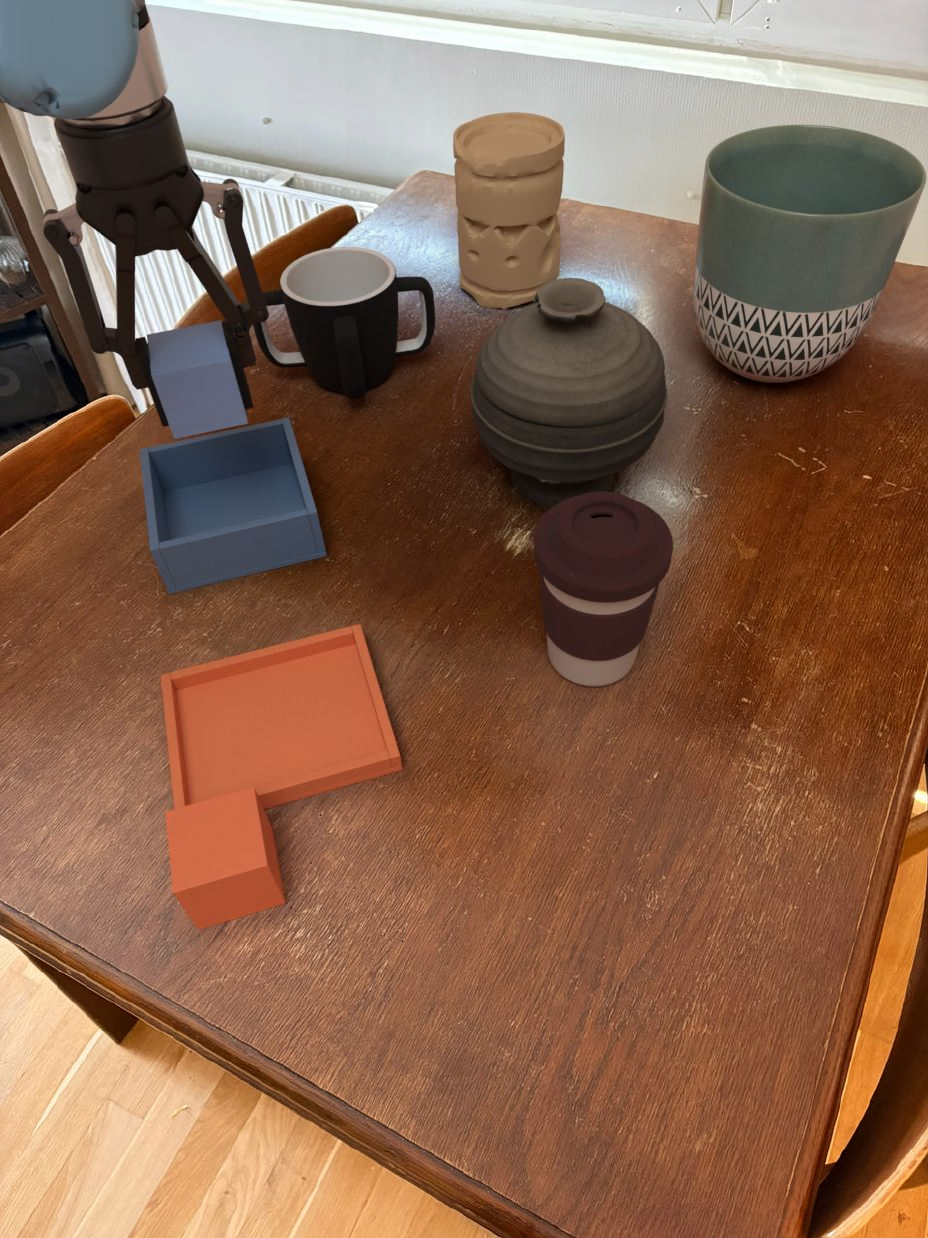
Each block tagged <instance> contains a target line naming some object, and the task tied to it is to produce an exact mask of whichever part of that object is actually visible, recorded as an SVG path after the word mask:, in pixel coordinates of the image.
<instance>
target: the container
mask: <svg viewBox="0 0 928 1238" xmlns="http://www.w3.org/2000/svg"><path fill="white" fill-rule="evenodd" d="M565 138H566V135H565V130H564V127H563V126H562V124H560V123H559V122H558V121H556V120H554V119H553V118H550V117H547V116H544V115H541V114H537V113H530V112H520V111H518V112H516V111H514V112H513V111H512V112H511V111H510V112H498V113H490V114H487V115H482V116H480V117H477V118H475V119H472V120H470V121H466V122H464V123H461V124H460V125H459V126H458V127H456V129H455V130H454V132H453V136H452V149H453V150H452V151H453V152H452V153H453V158H454V159H455V162H454V166H453V168H454V169H453V170H454V182H455V183H454V184H455V205H456V208H457V218H456V229H457V232H456V233H457V251H458V266H459V269H460V271H459V287H460V290H464V291H466V292H467V293H468V294H470V295H471V296H472V297H473V298H474V300H475V301H476V303H477V305H479V306H480V307H481V308H482V307H483V308H488V309H496V310H497V309H501V310H503V311H506V310H507V309H509V308H512V307H517V306H520V305H523V304H525V303H529V302H534V296H535V295H536V292H537V290H538V289H539V288H540V287H541V286H542V285H544V284H546V283H548V282H551V281H553V280H557V279H559V276H560V272H561V271H560V267H561V248H562V247H561V245H562V243H561V242H562V238H561V226H560V222H559V216H558V214H557V213H558V212H559V207H560V203H561V198H562V194H563V184H564V169H565V167H564V166H565V162H564V159H563V158H564V155H565V145H566V144H565V142H566V139H565Z"/></svg>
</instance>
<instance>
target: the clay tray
mask: <svg viewBox="0 0 928 1238" xmlns="http://www.w3.org/2000/svg"><path fill="white" fill-rule="evenodd" d="M160 683H161V693H162V705H163V713H164V722H165V732H166V733H165V734H166V742H167V751H168V760H169V761H168V762H169V772H170V781H171V792H172V800H173V801H172V802H173V809H176V808H180V807H183V806H187V805H190V804H194V803H197V802H201V801H205V800H208V799H212V798H215V797H219V796H222V795H226V794H230V793H233V792H237V791H240V790H244V789H247V788H251V787H255V790H256V792H257V794H258V797H259V799H260V801H261V804H262V806H263V808H264V810H267V809H270V808H274V807H277V806H280V805H285V804H287V803H291V802H295V801H298V800H302V799H305V798H309V797H312V796H316V795H320V794H323V793H327V792H331V791H334V790H337V789H340V788H344V787H348V786H351V785H355V784H358V783H362V782H366V781H368V780H372V779H375V778H379V777H383V776H387V775H389V774H393V773H397V772H400V771H403V770H404V769H403V762H402V758H401V754H400V753H401V752H400V750H399V747H398V746H399V745H398V743H397V739H396V737H395V733H394V730H393V727H392V723H391V720H390V716H389V714H388V710H387V707H386V704H385V700H384V697H383V694H382V691H381V687H380V684H379V680H378V678H377V674H376V671H375V668H374V664H373V660H372V657H371V654H370V650H369V647H368V645H367V641H366V637H365V635H364V631H363V628H362V625H361V623H357V624H354V625H351V626H350V625H349V626H345V627H341V628H337V629H334V630H330V631H326V632H322V633H318V634H315V635H310V636H307V637H306V636H305V637H302V638H299V639H295V640H291V641H287V642H283V643H279V644H275V645H271V646H267V647H263V648H259V649H255V650H251V651H247V652H244V653H239V654H236V655H232V656H228V657H224V658H220V659H216V660H211V661H209V662H204V663H201V664H197V665H192V666H190V667H185V668H181V669H178V670H173V671H170V672H166V673H162V674H160Z"/></svg>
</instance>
